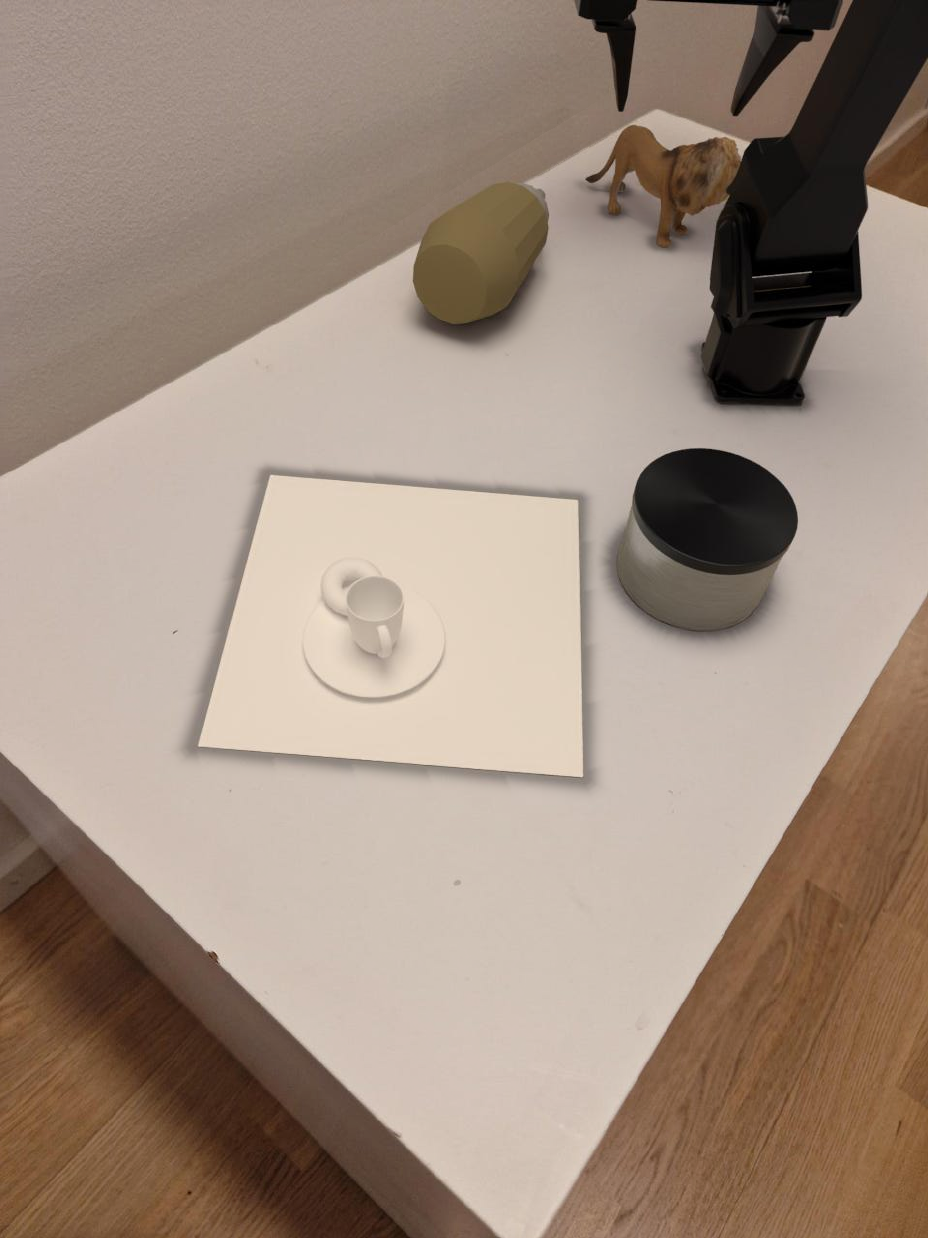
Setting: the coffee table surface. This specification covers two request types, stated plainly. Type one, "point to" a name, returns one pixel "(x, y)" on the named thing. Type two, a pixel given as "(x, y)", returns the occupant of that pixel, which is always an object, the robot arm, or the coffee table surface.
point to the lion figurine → (672, 175)
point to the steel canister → (704, 538)
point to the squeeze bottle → (481, 252)
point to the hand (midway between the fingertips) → (677, 111)
